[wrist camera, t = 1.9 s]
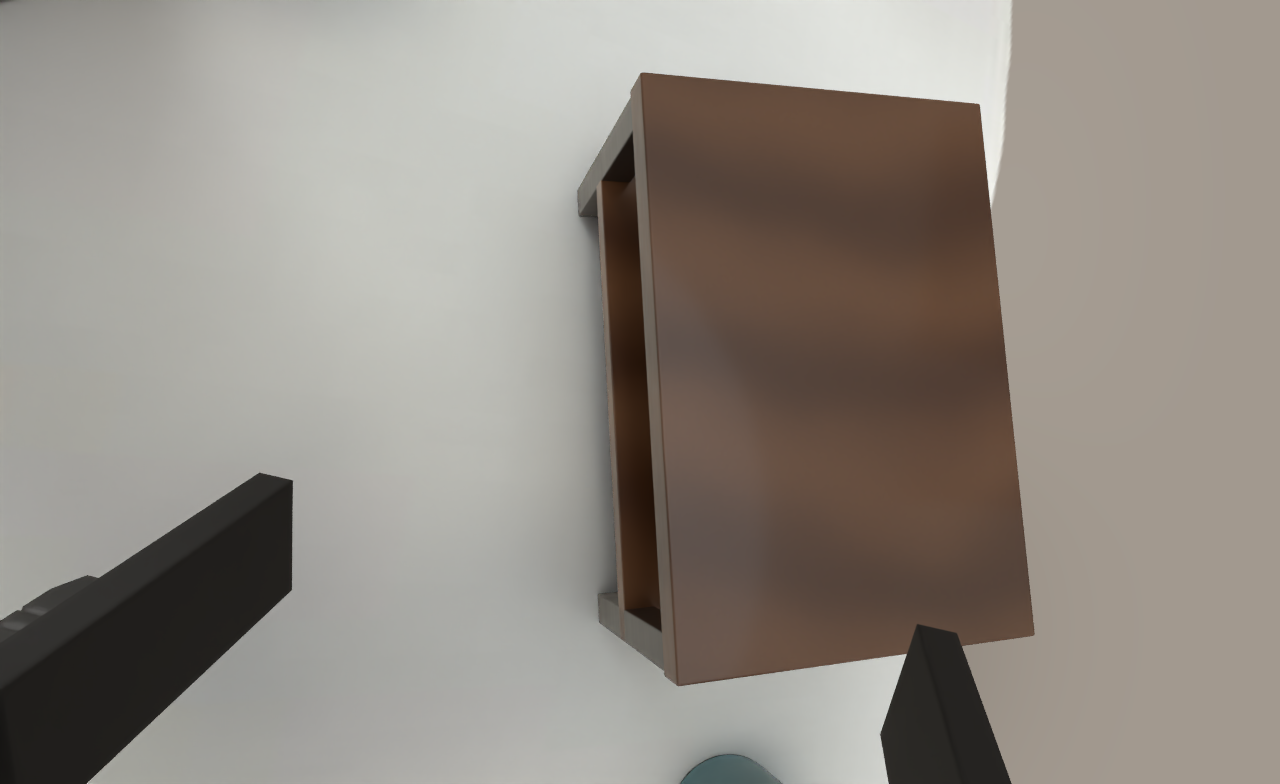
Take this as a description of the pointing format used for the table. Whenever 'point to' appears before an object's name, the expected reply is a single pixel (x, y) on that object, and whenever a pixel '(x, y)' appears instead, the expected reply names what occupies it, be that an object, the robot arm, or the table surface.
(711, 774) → the capped bottle
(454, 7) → the table surface
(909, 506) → the coffee table
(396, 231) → the table surface
